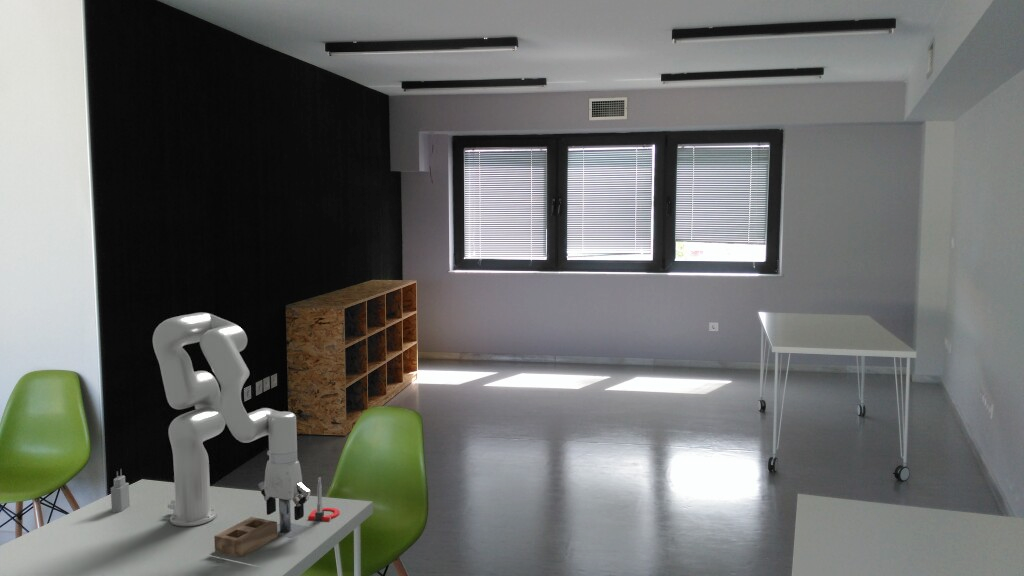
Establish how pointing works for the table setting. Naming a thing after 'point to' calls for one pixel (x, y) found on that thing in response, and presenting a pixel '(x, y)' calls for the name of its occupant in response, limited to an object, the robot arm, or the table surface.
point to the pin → (284, 515)
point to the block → (245, 536)
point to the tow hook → (318, 513)
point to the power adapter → (120, 494)
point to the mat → (292, 530)
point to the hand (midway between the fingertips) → (285, 515)
